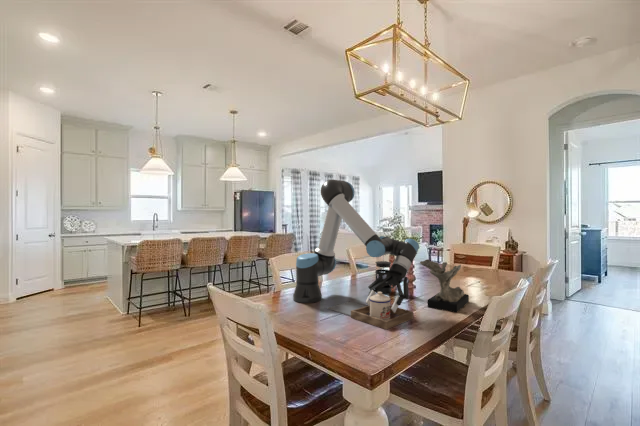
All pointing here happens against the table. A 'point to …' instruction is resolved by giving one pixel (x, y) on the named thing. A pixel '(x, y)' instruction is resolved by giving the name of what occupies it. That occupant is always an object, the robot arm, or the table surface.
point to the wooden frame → (361, 315)
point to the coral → (446, 288)
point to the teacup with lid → (380, 306)
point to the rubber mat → (346, 308)
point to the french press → (385, 264)
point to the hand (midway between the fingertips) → (379, 307)
